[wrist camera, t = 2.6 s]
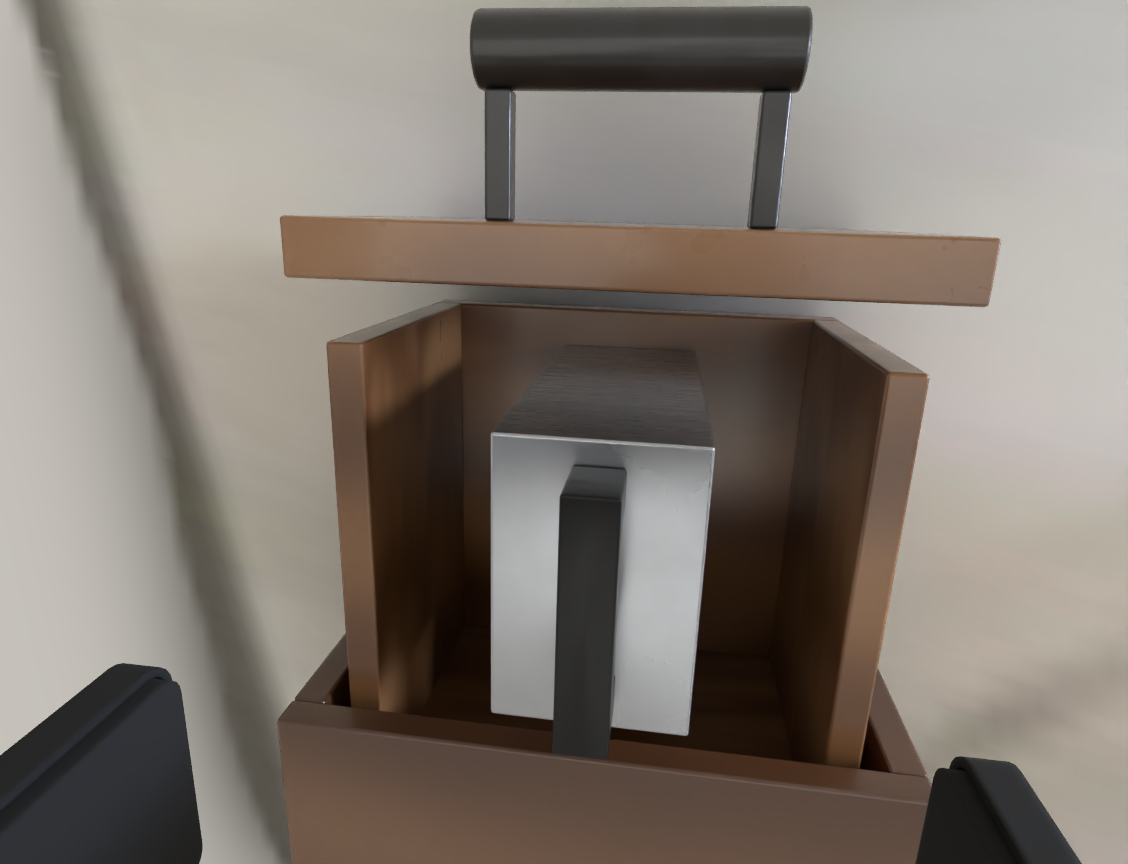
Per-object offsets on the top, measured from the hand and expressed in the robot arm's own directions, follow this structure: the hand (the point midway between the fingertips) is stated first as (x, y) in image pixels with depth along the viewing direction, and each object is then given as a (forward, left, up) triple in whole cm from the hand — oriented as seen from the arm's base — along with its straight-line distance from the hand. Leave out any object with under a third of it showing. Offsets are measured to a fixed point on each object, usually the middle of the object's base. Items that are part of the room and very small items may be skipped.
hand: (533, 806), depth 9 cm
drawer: (-2, 0, -16) cm, 16 cm away
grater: (0, 0, -15) cm, 15 cm away
